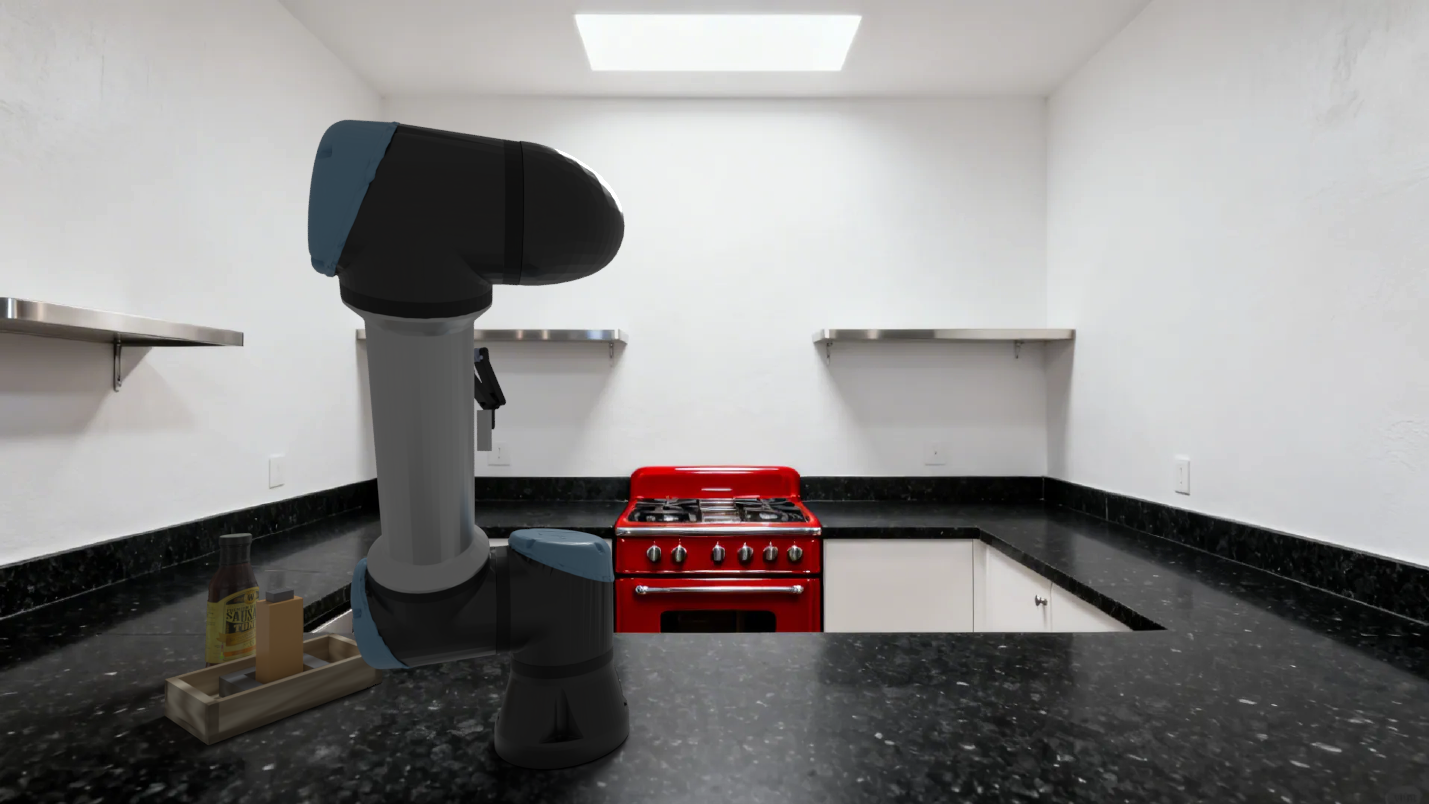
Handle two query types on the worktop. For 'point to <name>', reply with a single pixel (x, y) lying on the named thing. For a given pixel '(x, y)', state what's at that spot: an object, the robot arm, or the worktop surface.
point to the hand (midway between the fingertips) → (445, 453)
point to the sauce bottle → (232, 603)
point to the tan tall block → (279, 635)
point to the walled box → (265, 689)
